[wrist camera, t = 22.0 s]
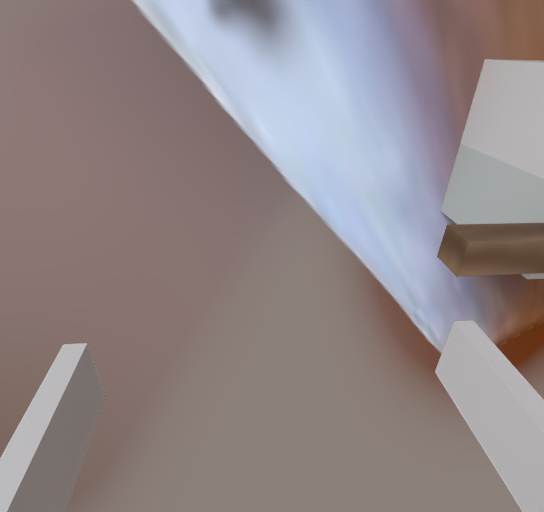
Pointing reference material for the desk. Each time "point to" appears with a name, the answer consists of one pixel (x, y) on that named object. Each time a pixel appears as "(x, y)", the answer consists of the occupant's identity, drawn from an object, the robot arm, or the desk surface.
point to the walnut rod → (493, 249)
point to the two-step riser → (501, 150)
